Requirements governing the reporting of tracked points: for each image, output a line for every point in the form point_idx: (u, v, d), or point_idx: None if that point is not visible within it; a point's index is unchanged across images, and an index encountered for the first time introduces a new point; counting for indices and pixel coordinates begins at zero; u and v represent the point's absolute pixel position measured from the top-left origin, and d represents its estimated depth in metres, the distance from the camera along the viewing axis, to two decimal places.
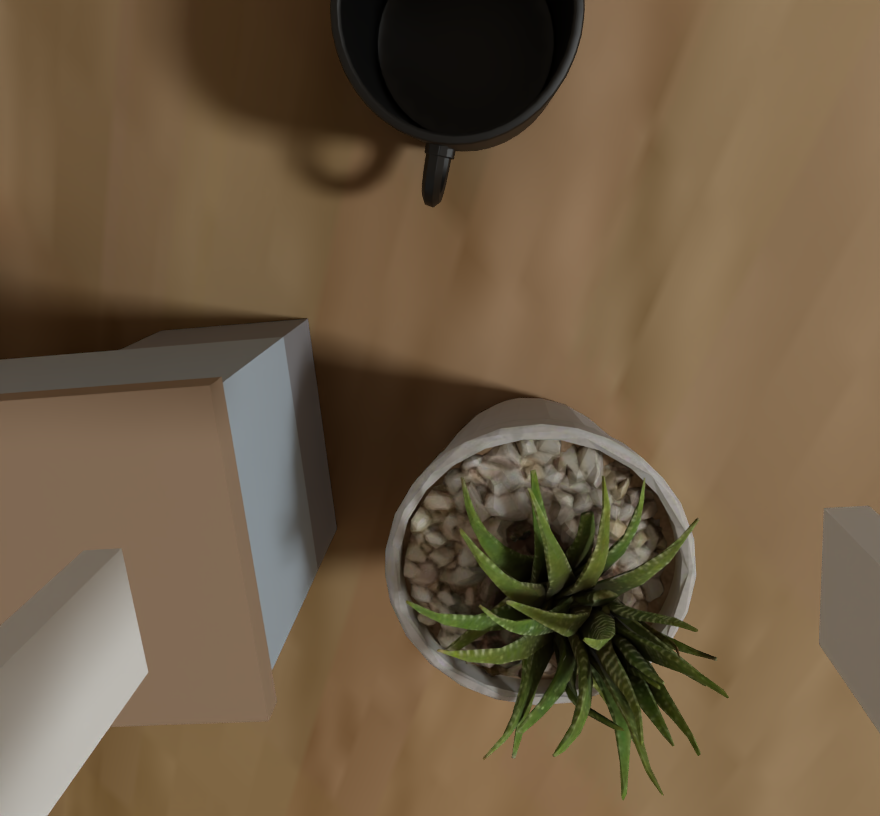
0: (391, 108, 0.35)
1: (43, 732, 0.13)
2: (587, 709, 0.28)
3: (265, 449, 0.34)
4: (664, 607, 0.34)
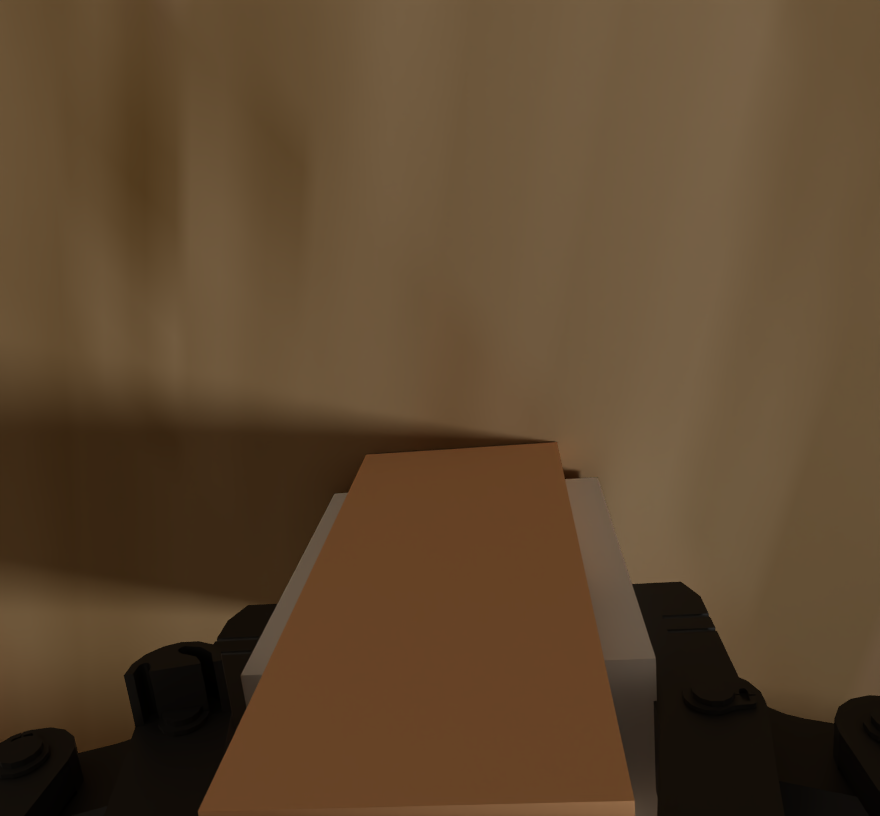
0: None
1: None
2: None
3: None
4: None
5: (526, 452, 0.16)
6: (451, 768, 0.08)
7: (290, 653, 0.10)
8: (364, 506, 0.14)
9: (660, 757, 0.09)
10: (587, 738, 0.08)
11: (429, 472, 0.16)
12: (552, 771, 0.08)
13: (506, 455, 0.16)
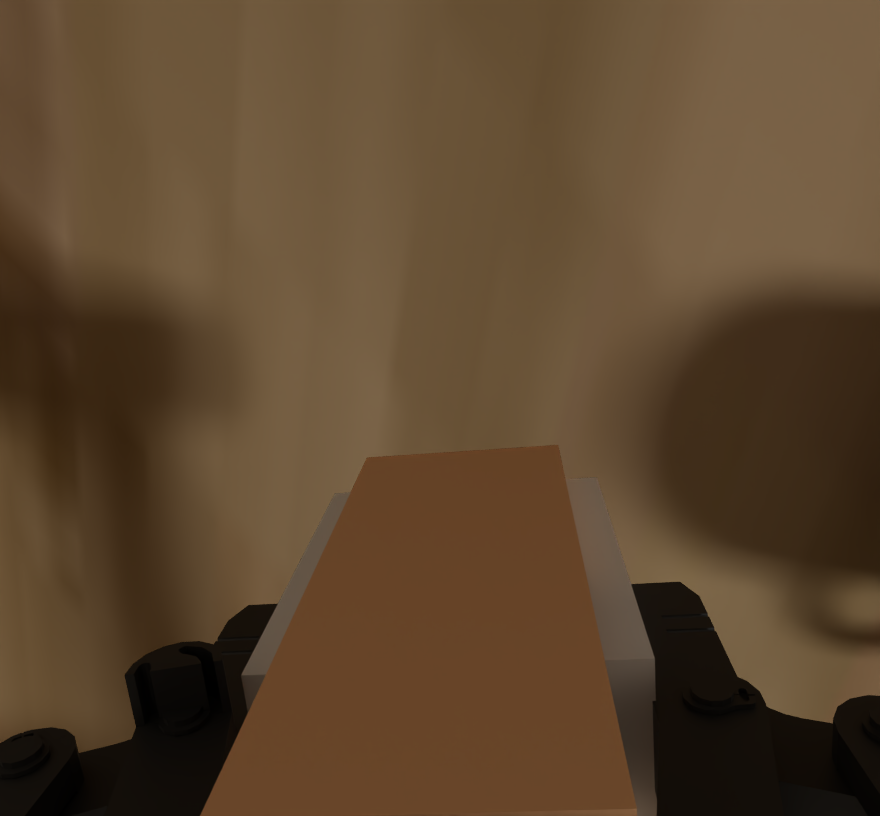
0: None
1: None
2: None
3: None
4: None
5: (527, 455, 0.16)
6: (453, 776, 0.08)
7: (291, 659, 0.10)
8: (365, 510, 0.14)
9: (659, 757, 0.09)
10: (588, 745, 0.08)
11: (430, 475, 0.16)
12: (554, 778, 0.08)
13: (507, 459, 0.16)
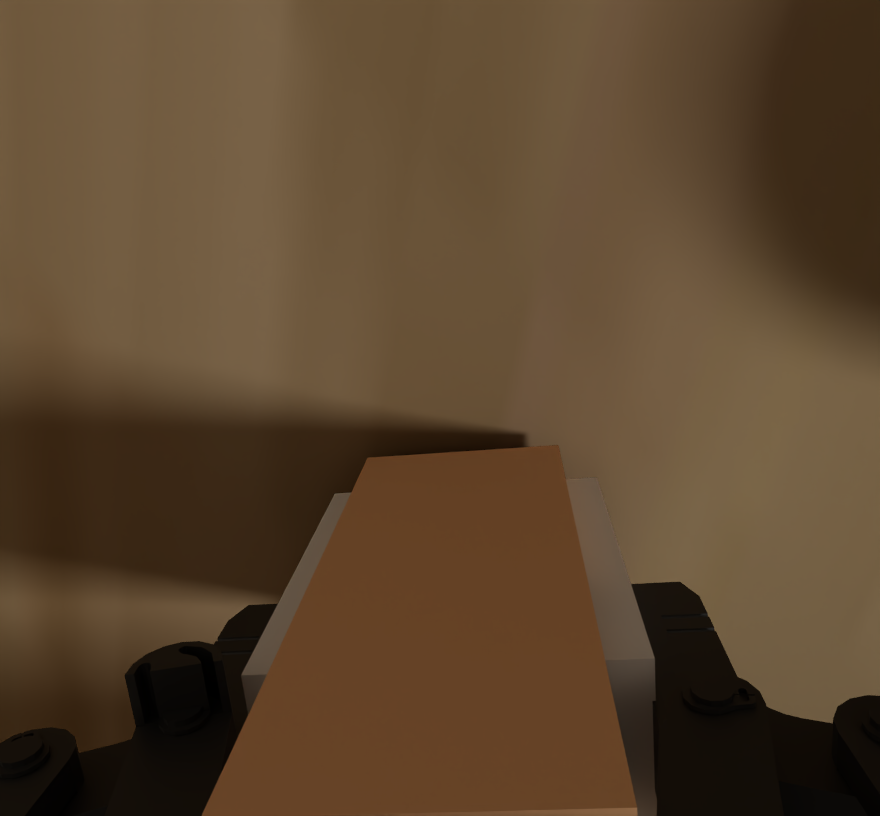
0: None
1: None
2: None
3: None
4: None
5: (527, 455, 0.16)
6: (454, 774, 0.08)
7: (292, 658, 0.10)
8: (365, 510, 0.14)
9: (659, 757, 0.09)
10: (588, 744, 0.08)
11: (431, 475, 0.16)
12: (553, 777, 0.08)
13: (507, 458, 0.16)
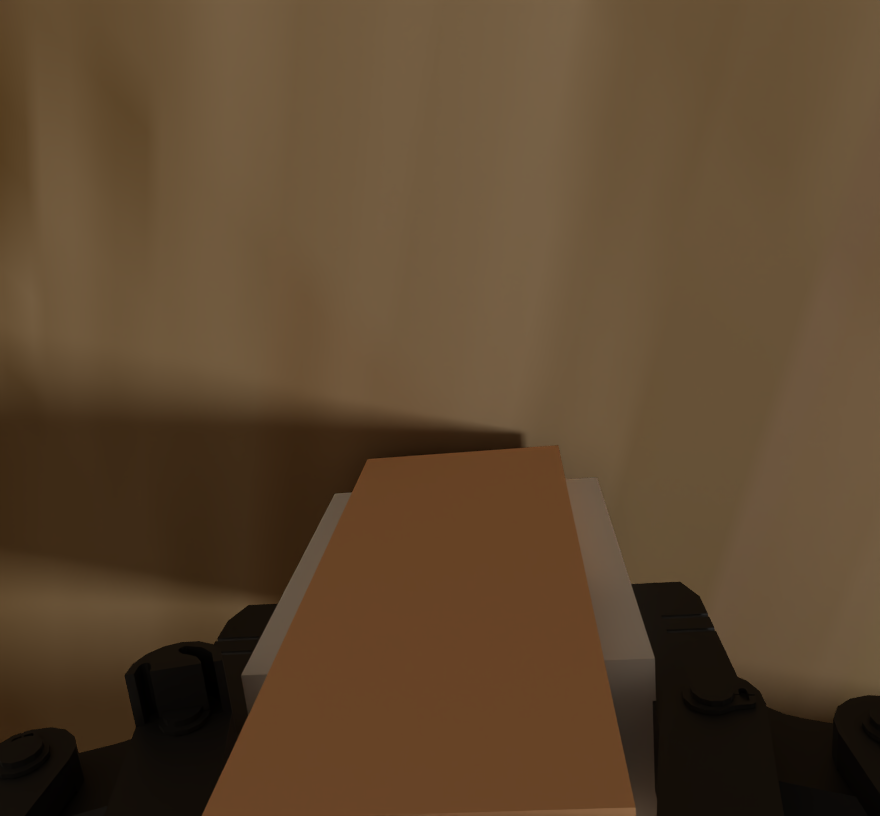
0: None
1: None
2: None
3: None
4: None
5: (527, 456, 0.16)
6: (452, 775, 0.08)
7: (292, 660, 0.10)
8: (365, 512, 0.14)
9: (659, 757, 0.09)
10: (588, 744, 0.08)
11: (430, 476, 0.16)
12: (552, 778, 0.08)
13: (507, 459, 0.16)
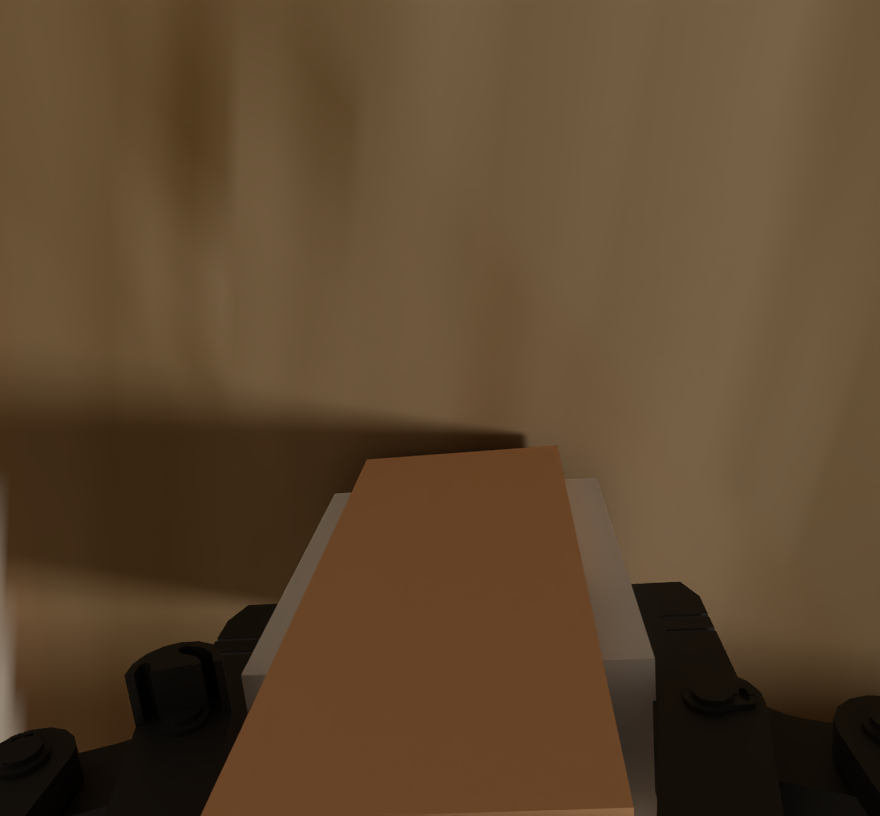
0: None
1: None
2: None
3: None
4: None
5: (527, 456, 0.16)
6: (451, 775, 0.08)
7: (290, 661, 0.10)
8: (364, 512, 0.14)
9: (659, 757, 0.09)
10: (586, 745, 0.08)
11: (430, 477, 0.16)
12: (551, 778, 0.08)
13: (506, 459, 0.16)
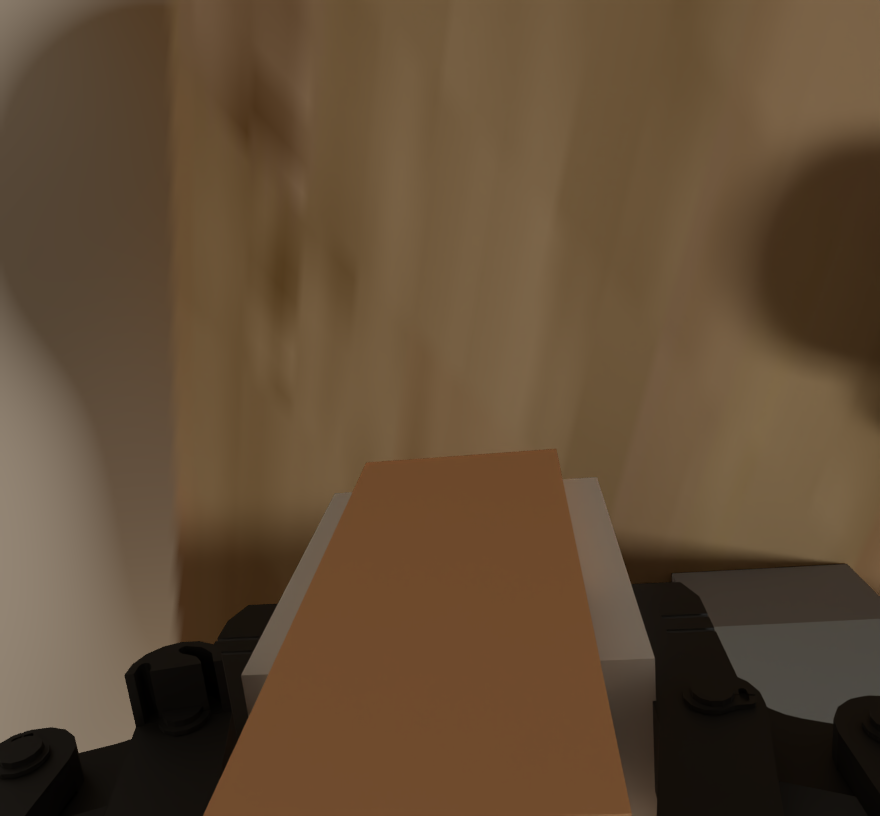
0: None
1: None
2: None
3: None
4: None
5: (525, 459, 0.16)
6: (450, 780, 0.08)
7: (290, 665, 0.10)
8: (363, 516, 0.14)
9: (659, 757, 0.09)
10: (585, 750, 0.08)
11: (429, 480, 0.16)
12: (549, 783, 0.08)
13: (506, 463, 0.16)
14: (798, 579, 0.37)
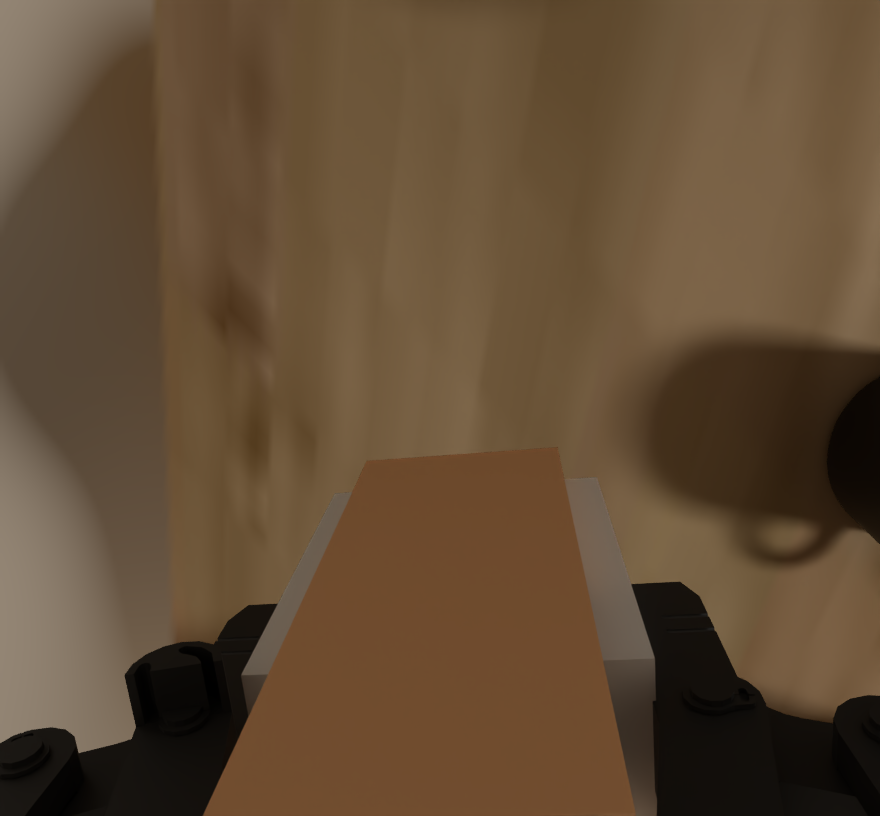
0: None
1: None
2: None
3: None
4: None
5: (527, 457, 0.16)
6: (451, 779, 0.08)
7: (290, 664, 0.10)
8: (364, 514, 0.14)
9: (659, 757, 0.09)
10: (588, 748, 0.08)
11: (430, 478, 0.16)
12: (553, 783, 0.08)
13: (507, 461, 0.16)
14: None
